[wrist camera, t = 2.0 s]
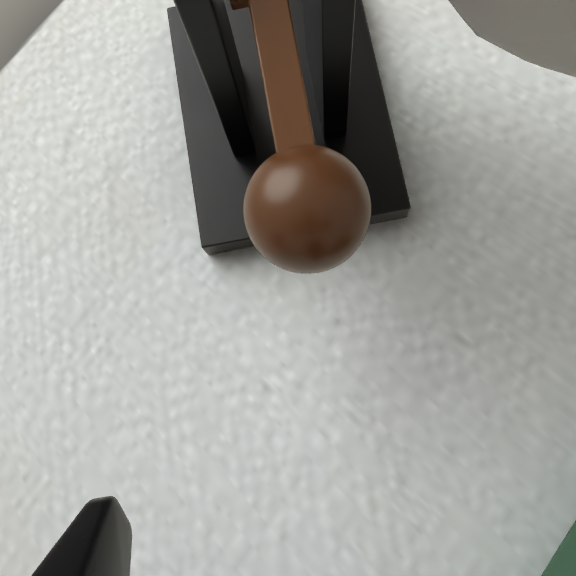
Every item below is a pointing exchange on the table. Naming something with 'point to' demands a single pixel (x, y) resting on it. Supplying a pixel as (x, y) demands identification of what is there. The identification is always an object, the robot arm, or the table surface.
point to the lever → (298, 164)
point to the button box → (564, 557)
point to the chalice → (527, 29)
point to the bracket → (254, 111)
